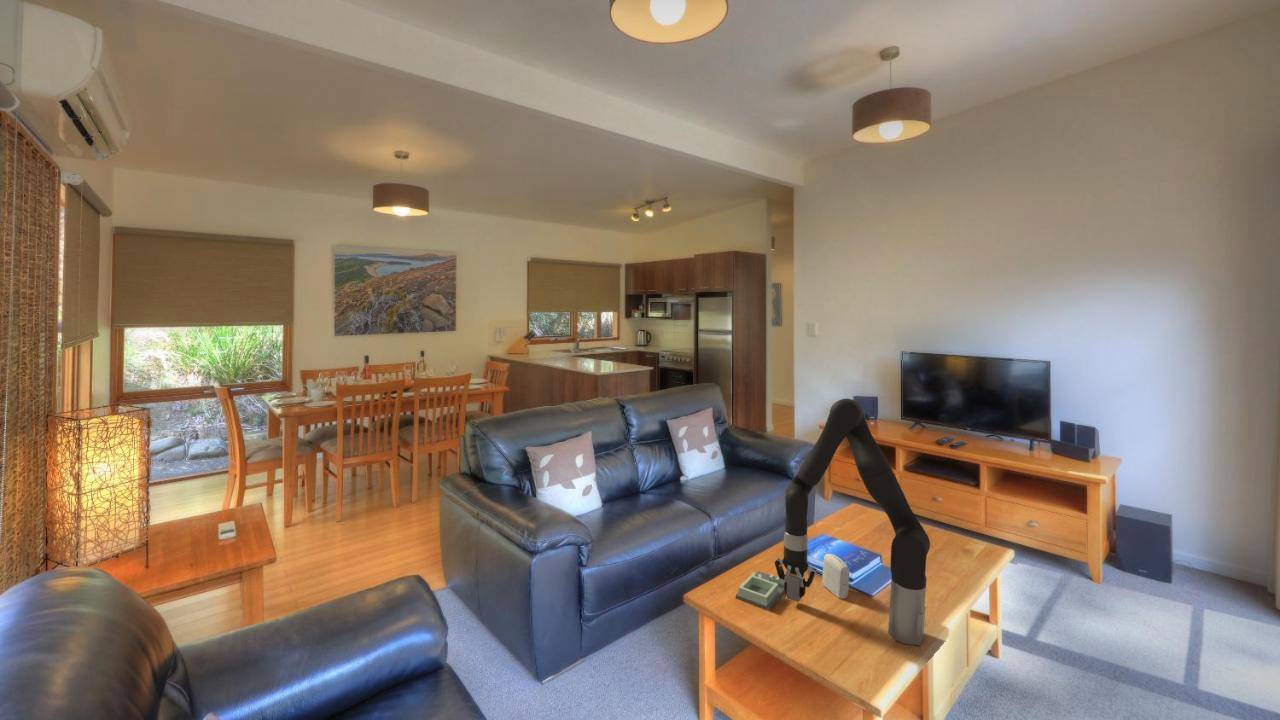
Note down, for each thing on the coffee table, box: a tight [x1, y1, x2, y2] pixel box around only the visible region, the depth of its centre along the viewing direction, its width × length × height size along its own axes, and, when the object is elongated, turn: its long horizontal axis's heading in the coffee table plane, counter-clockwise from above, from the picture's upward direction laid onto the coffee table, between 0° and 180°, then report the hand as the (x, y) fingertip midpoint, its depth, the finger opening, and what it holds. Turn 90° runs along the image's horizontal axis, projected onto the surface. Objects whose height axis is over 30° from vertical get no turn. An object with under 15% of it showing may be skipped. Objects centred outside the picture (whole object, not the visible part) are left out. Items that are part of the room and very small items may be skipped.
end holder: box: [738, 574, 778, 606], centre depth 175 cm, size 10×10×3 cm
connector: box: [786, 573, 802, 603], centre depth 170 cm, size 4×4×9 cm
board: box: [735, 571, 786, 611], centre depth 178 cm, size 12×19×4 cm, turn 144°
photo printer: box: [821, 553, 850, 600], centre depth 178 cm, size 10×4×12 cm, turn 17°
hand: (794, 593), depth 170 cm, fingers closed on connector, 4 cm apart
